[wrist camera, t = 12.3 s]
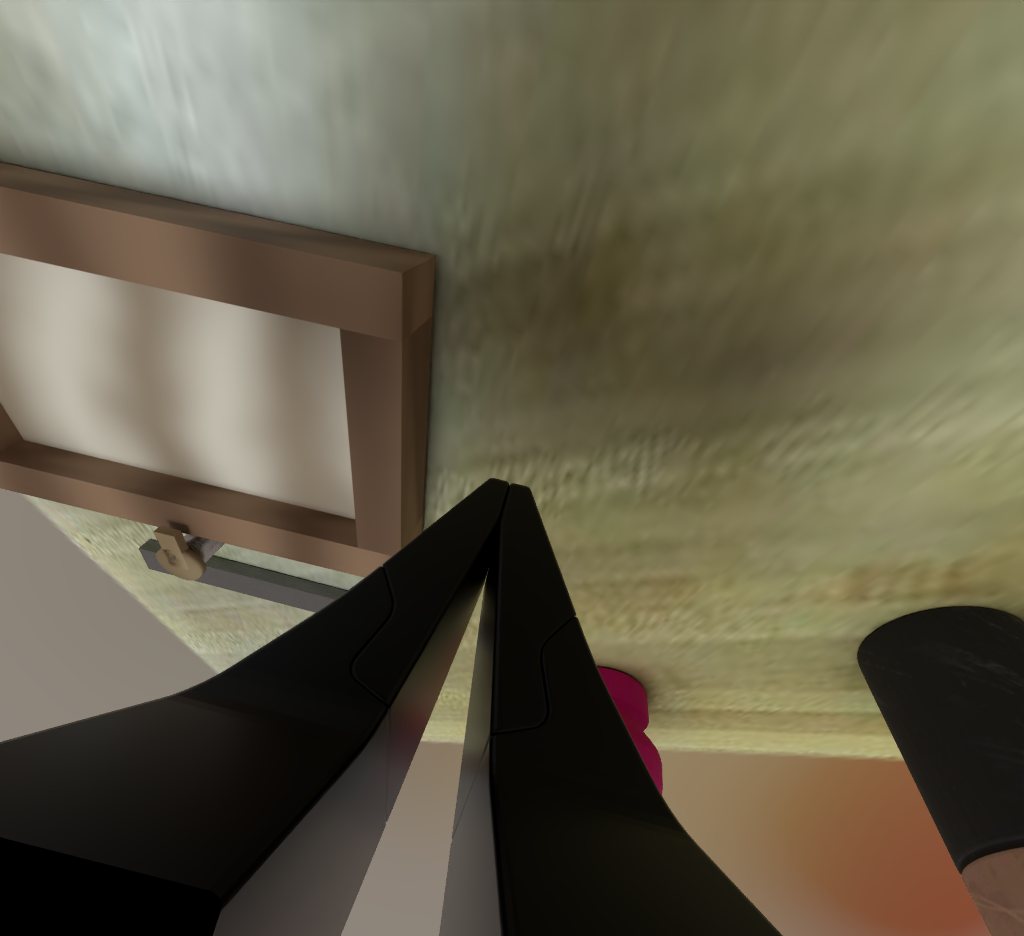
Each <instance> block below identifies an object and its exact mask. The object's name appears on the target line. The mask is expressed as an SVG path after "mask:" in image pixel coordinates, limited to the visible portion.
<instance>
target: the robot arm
mask: <svg viewBox="0 0 1024 936" xmlns="http://www.w3.org/2000/svg"><path fill="white" fill-rule="evenodd" d="M488 568H489V569H488ZM487 572H488V573H487ZM486 576H487V578H486ZM485 579H486V582H485ZM484 582H485V587H484V594H483V601H482V609H481V617H480V624H479V632H478V640H477V648H476V655H475V663H474V671H473V678H472V686H471V694H470V702H469V709H468V717H467V725H466V733H465V740H464V748H463V756H462V764H461V771H460V772H461V773H460V779H459V788H458V795H457V803H456V810H455V818H454V826H453V833H452V843H451V848H450V856H449V865H448V872H447V879H446V887H445V895H444V903H443V910H442V918H441V926H440V934H439V936H782V935H781V934H780V932H779V931H778V930H777V929H776V928H775V927H774V926H773V925H772V924H771V923H770V922H769V921H768V920H767V918H766V917H765V916H764V915H763V914H762V913H761V912H760V911H759V910H758V909H757V908H756V907H755V906H754V905H753V903H752V902H751V901H750V900H749V899H748V898H747V897H746V896H745V895H744V894H743V893H742V892H741V891H740V890H739V889H738V887H736V885H735V884H734V883H733V882H732V881H731V880H730V879H729V878H728V877H727V876H726V875H725V873H723V872H722V870H721V869H720V868H719V867H718V866H717V865H716V864H715V863H714V862H713V861H712V860H711V858H710V857H709V856H708V855H707V854H706V853H705V852H704V851H703V850H702V849H701V848H700V847H699V846H698V845H697V843H696V842H695V841H694V840H693V839H692V838H691V837H690V836H689V834H688V833H687V832H686V830H685V829H684V828H683V827H682V825H681V824H680V823H679V821H678V820H677V819H676V817H675V816H674V814H673V813H672V811H671V810H670V808H669V807H668V805H667V804H666V802H665V800H664V799H663V797H662V795H661V794H660V792H659V790H658V788H657V786H656V784H655V782H654V781H653V779H652V777H651V775H650V773H649V771H648V769H647V767H646V765H645V763H644V761H643V759H642V757H641V755H640V753H639V751H638V749H637V747H636V745H635V743H634V741H633V739H632V737H631V735H630V733H629V731H628V729H627V727H626V725H625V723H624V721H623V719H622V717H621V715H620V713H619V711H618V709H617V707H616V705H615V703H614V701H613V699H612V697H611V695H610V693H609V691H608V689H607V687H606V685H605V683H604V681H603V678H602V676H601V674H600V672H599V670H598V668H597V666H596V664H595V661H594V659H593V656H592V654H591V651H590V649H589V646H588V644H587V641H586V639H585V636H584V634H583V631H582V628H581V625H580V622H579V620H578V618H577V617H575V616H576V612H575V609H574V607H573V604H572V601H571V598H570V596H569V593H568V590H567V588H566V585H565V582H564V579H563V577H562V574H561V571H560V568H559V566H558V563H557V560H556V557H555V555H554V552H553V549H552V547H551V544H550V541H549V538H548V536H547V533H546V530H545V527H544V525H543V522H542V519H541V517H540V514H539V511H538V508H537V506H536V503H535V500H534V497H533V495H532V492H531V490H530V488H529V487H527V486H523V485H519V484H515V483H512V484H510V486H509V483H508V482H507V481H503V480H499V479H495V478H490V479H488V480H487V481H486V482H485V483H483V484H482V485H481V486H480V487H478V488H477V489H476V490H475V491H473V492H472V493H471V494H470V495H468V496H467V497H466V498H465V499H463V500H462V501H461V502H460V503H458V504H457V505H456V506H455V507H453V508H452V509H451V510H450V511H448V512H447V513H446V514H445V515H443V516H442V517H441V518H440V519H438V520H437V521H436V522H435V523H433V524H432V525H431V526H430V527H428V528H427V529H426V530H425V531H423V532H422V533H421V534H420V535H418V536H417V537H416V538H415V539H413V540H412V541H411V542H410V543H408V544H407V545H406V546H405V547H403V548H402V549H401V550H399V551H398V552H397V553H396V554H394V555H393V556H392V557H391V558H389V559H388V560H387V561H386V562H384V563H383V565H382V566H379V567H378V568H377V569H375V570H374V571H373V572H372V573H370V574H369V575H368V576H367V577H365V578H364V579H363V580H362V581H360V582H359V583H358V584H356V585H355V586H354V587H352V588H351V589H350V590H348V591H347V592H346V593H344V594H343V595H342V596H340V597H339V598H337V599H336V600H334V601H333V602H331V603H330V604H328V605H327V606H325V607H324V608H322V609H321V610H319V611H318V612H316V613H315V614H313V615H312V616H310V617H309V618H307V619H305V620H304V621H302V622H301V623H299V624H298V625H296V626H294V627H293V628H291V629H290V630H288V631H287V632H285V633H283V634H282V635H280V636H279V637H277V638H276V639H274V640H272V641H271V642H269V643H268V644H266V645H265V646H263V647H261V648H260V649H258V650H257V651H255V652H254V653H252V654H250V655H249V656H247V657H246V658H244V659H242V660H241V661H239V662H238V663H236V664H235V665H233V666H231V667H230V668H228V669H226V670H225V671H223V672H221V673H220V674H218V675H216V676H214V677H212V678H210V679H208V680H206V681H204V682H202V683H200V684H198V685H196V686H193V687H191V688H189V689H186V690H184V691H181V692H179V693H176V694H173V695H170V696H167V697H163V698H160V699H156V700H153V701H149V702H145V703H142V704H138V705H134V706H131V707H127V708H123V709H120V710H116V711H112V712H109V713H105V714H101V715H98V716H94V717H90V718H87V719H83V720H80V721H76V722H72V723H68V724H65V725H61V726H57V727H54V728H50V729H46V730H43V731H39V732H35V733H32V734H28V735H24V736H21V737H17V738H13V739H10V740H6V741H3V742H0V936H341V933H342V931H343V929H344V926H345V923H346V921H347V919H348V916H349V914H350V911H351V909H352V906H353V904H354V901H355V899H356V896H357V894H358V892H359V889H360V887H361V884H362V882H363V880H364V877H365V875H366V872H367V870H368V867H369V865H370V863H371V860H372V857H373V855H374V853H375V850H376V848H377V845H378V843H379V841H380V838H381V836H382V833H383V831H384V828H385V825H386V821H387V820H388V818H389V816H390V813H391V811H392V809H393V806H394V803H395V801H396V798H397V796H398V794H399V791H400V789H401V786H402V784H403V782H404V779H405V777H406V774H407V772H408V769H409V767H410V765H411V762H412V760H413V757H414V755H415V752H416V750H417V747H418V745H419V743H420V740H421V738H422V735H423V733H424V730H425V728H426V725H427V723H428V721H429V718H430V716H431V713H432V711H433V708H434V706H435V703H436V701H437V699H438V696H439V694H440V691H441V689H442V686H443V684H444V681H445V679H446V677H447V674H448V672H449V669H450V667H451V664H452V662H453V659H454V657H455V655H456V652H457V650H458V647H459V645H460V642H461V640H462V637H463V635H464V633H465V630H466V628H467V625H468V623H469V620H470V618H471V615H472V613H473V611H474V608H475V606H476V603H477V601H478V598H479V596H480V593H481V591H482V588H483V585H484Z"/></svg>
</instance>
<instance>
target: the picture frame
mask: <svg viewBox="0 0 1024 936" xmlns="http://www.w3.org/2000/svg"><path fill="white" fill-rule="evenodd" d="M435 257H436V256H435V255H431V254H426V253H421V252H417V251H412V250H407V249H403V248H398V247H393V246H389V245H384V244H379V243H375V242H370V241H365V240H361V239H356V238H351V237H347V236H342V235H337V234H333V233H328V232H323V231H318V230H314V229H309V228H304V227H300V226H295V225H290V224H286V223H281V222H276V221H272V220H267V219H262V218H258V217H253V216H248V215H244V214H239V213H234V212H230V211H225V210H220V209H216V208H211V207H206V206H202V205H197V204H192V203H187V202H183V201H178V200H173V199H169V198H164V197H159V196H155V195H150V194H145V193H141V192H136V191H131V190H127V189H122V188H117V187H113V186H108V185H103V184H99V183H94V182H89V181H85V180H80V179H75V178H71V177H66V176H61V175H57V174H52V173H47V172H42V171H38V170H33V169H28V168H24V167H19V166H14V165H10V164H5V163H0V488H2V489H6V490H10V491H14V492H18V493H22V494H26V495H30V496H34V497H39V498H43V499H47V500H51V501H55V502H59V503H63V504H67V505H71V506H75V507H79V508H83V509H88V510H92V511H96V512H100V513H104V514H108V515H112V516H116V517H120V518H124V519H128V520H132V521H137V522H141V523H145V524H149V525H153V526H157V527H158V528H157V529H156V530H155V531H154V534H155V536H156V538H157V540H158V542H159V544H160V546H161V549H160V550H159V551H158V552H157V553H156V558H157V560H158V562H159V563H160V565H161V566H162V567H163V568H164V569H166V570H167V571H168V572H170V573H171V574H173V575H175V576H177V577H179V578H182V579H185V580H197V579H199V578H200V577H201V576H202V575H203V574H204V573H205V571H206V564H205V562H204V561H203V559H202V558H201V557H200V556H199V555H198V554H197V553H195V552H194V551H192V550H191V549H189V548H188V546H187V544H186V541H185V539H184V537H183V534H182V533H186V534H190V535H194V536H198V537H202V538H206V539H210V540H214V541H218V542H222V543H226V544H230V545H235V546H239V547H243V548H247V549H251V550H255V551H259V552H263V553H267V554H271V555H275V556H279V557H284V558H288V559H292V560H296V561H300V562H304V563H308V564H312V565H316V566H320V567H324V568H328V569H333V570H337V571H341V572H345V573H349V574H353V575H357V576H361V577H367V576H368V575H369V574H370V573H372V572H373V571H374V570H375V569H377V568H378V567H379V566H382V565H383V563H384V562H386V561H387V560H388V559H389V558H391V557H392V556H393V555H394V554H396V553H397V552H398V551H399V550H401V549H402V548H403V547H405V546H406V545H407V544H408V543H410V542H411V541H412V540H413V539H415V538H416V537H417V536H418V535H420V534H421V533H422V523H423V503H424V482H425V462H426V441H427V421H428V400H429V380H430V359H431V339H432V318H433V298H434V277H435Z"/></svg>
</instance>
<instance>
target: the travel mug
mask: <svg viewBox="0 0 1024 936" xmlns="http://www.w3.org/2000/svg"><path fill="white" fill-rule="evenodd" d="M858 662H859V666H860V668H861V671H862V673H863V675H864V677H865V679H866V681H867V684H868V686H869V688H870V690H871V692H872V694H873V696H874V698H875V701H876V703H877V705H878V707H879V709H880V711H881V713H882V715H883V717H884V719H885V721H886V723H887V725H888V727H889V729H890V731H891V734H892V736H893V738H894V740H895V742H896V744H897V746H898V748H899V750H900V752H901V754H902V756H903V758H904V760H905V762H906V764H907V766H908V769H909V771H910V773H911V774H912V777H913V779H914V781H915V783H916V785H917V787H918V789H919V791H920V793H921V795H922V797H923V800H924V802H925V804H926V806H927V807H928V810H929V812H930V814H931V816H932V818H933V820H934V822H935V824H936V826H937V828H938V830H939V833H940V834H941V837H942V839H943V841H944V843H945V845H946V847H947V849H948V851H949V853H950V855H951V857H952V859H953V861H954V863H955V866H956V867H957V869H958V871H959V873H960V874H961V875H962V879H963V882H964V884H965V886H966V887H967V889H968V891H969V893H970V895H971V897H972V899H973V900H974V903H975V905H976V906H977V908H978V910H979V912H980V914H981V916H982V918H983V920H984V922H985V924H986V926H987V928H988V929H989V931H990V933H991V935H992V936H1024V622H1023V621H1022V620H1020V619H1019V618H1017V617H1015V616H1013V615H1011V614H1008V613H1005V612H1002V611H998V610H993V609H988V608H980V607H950V608H940V609H933V610H928V611H923V612H918V613H915V614H911V615H908V616H905V617H902V618H899V619H897V620H894V621H892V622H890V623H888V624H886V625H884V626H882V627H880V628H879V629H877V630H876V631H874V632H873V633H872V634H871V635H870V636H868V637H867V638H866V639H865V641H864V642H863V643H862V645H861V646H860V648H859V652H858Z"/></svg>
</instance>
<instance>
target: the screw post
mask: <svg viewBox="0 0 1024 936" xmlns="http://www.w3.org/2000/svg"><path fill="white" fill-rule="evenodd" d="M184 539H185V541H186V544H187V546H188V548H189V549H191V550H192V551H194V552H195V553H197V554H198V555H199V556H200V557H201V558H202V559H203V561H204V562H205V563H206V562H207V561H208V560H209V559H210V558H211V557H212V556H213V555H214V554H215V553H216V552H217V551H218V550H219V549H220V548H221V547H222V546H223V545H224V544H225V543H222V542H218V541H214V540H210V539H206V538H202V537H198V536H194V535H190V534H187V535H186V536H184Z"/></svg>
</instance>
